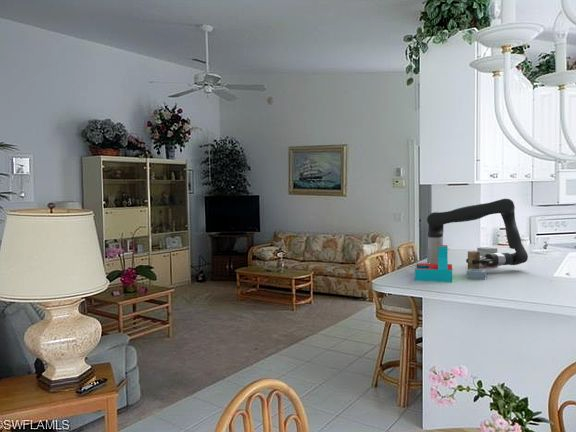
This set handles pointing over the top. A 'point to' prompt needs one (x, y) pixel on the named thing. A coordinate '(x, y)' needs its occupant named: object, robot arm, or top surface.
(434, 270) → the building blocks toy
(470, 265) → the pillar
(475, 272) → the plinth
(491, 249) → the ink box
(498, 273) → the top surface
